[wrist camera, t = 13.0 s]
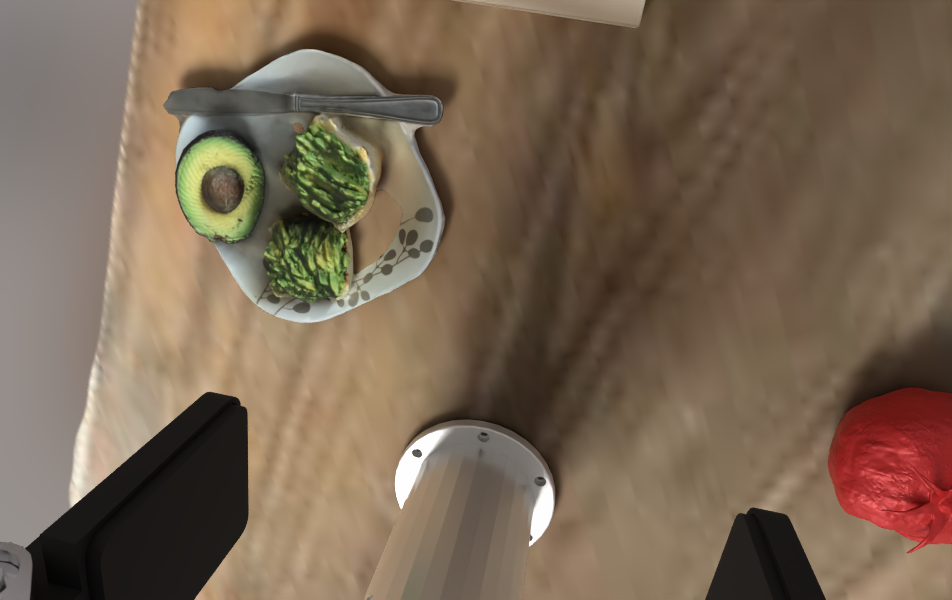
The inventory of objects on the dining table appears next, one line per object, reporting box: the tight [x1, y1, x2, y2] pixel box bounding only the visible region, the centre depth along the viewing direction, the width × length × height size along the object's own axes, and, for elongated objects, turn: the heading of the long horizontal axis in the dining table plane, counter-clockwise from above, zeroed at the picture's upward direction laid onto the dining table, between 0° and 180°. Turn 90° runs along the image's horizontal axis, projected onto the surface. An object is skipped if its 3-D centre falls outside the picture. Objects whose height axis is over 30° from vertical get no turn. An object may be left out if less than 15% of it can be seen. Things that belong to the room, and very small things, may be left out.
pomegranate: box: [828, 387, 952, 553], centre depth 37 cm, size 10×10×9 cm
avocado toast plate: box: [163, 49, 445, 323], centre depth 39 cm, size 19×18×5 cm
